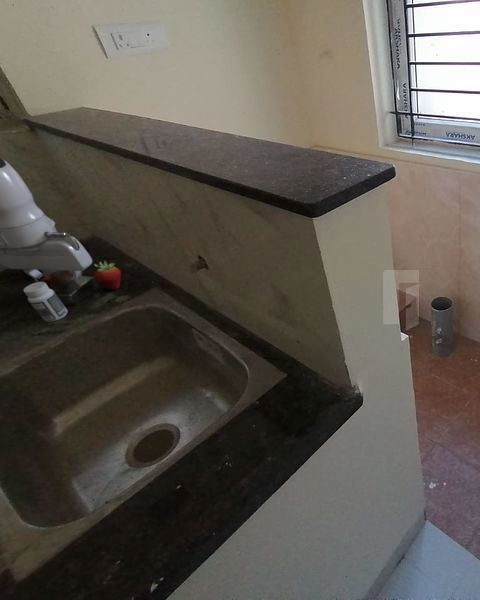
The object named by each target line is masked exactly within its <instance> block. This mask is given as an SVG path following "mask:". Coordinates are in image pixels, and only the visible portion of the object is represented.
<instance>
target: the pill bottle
mask: <svg viewBox="0 0 480 600" xmlns="http://www.w3.org/2000/svg"><path fill="white" fill-rule="evenodd" d="M23 293H24V294H25V295H26V296H27V301H28V303H30V305H31V306H32V307H33V309H34V310H35V311H36V312H37V314H38V315H39V316H40V317H41V318H42V320H43V321H44V322H45V323H46V322H47V323H52V322H56V321H59V320H61V319H63V318H65V317H66V316H67V314H68V312H69V311H68V309H67V308H66V305H63V303H62V302H61V301H60V299H59V298H58V297H57V295H56V294H55V292H54V291H53V290H52V289H49V287H48V286H47V285H46V283H44V282H33V283H30V284H29V285H26V286H25V287H24V288H23Z"/></svg>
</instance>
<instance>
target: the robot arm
mask: <svg viewBox="0 0 480 600" xmlns="http://www.w3.org/2000/svg"><path fill="white" fill-rule="evenodd" d="M46 216H47V215H46V214H45V213H44V212H43V210H42V209H41V208H39V207H38V205H37V204H36V203H35V200H34V197H33V194H32V192H31V190H30V189H29V187H28V185H27V184H26V183H25V181H24V179H23V177H22V176H21V175H20V173H18V172H17V170H15V168H14V167H12V165H11V164H10V163H9V162H7V161H6V160H5V159H4V158H1V157H0V264H1V265H2V266H3V267H5V268H7V269H8V270H22V271H23V272H24V273H25V274H26V275H28V276H30V277H31V278H32V279H34V280H35V283H37V282H43V278H45V277H46V275H45V274H44V273H43V272H42V271H41V270H66V271H69V272H70V273H71V274H73V278H71V281H72V282H73V284H78V285H81V284H82V283H83V282H84V279H83V277H84V276H83V271H85V270H86V269H88V268H89V267H90V266H91V265H92V264H93V259H92V257H91V255H90V253H89V252H88V251H87V250H86V248H85V247H84V246H83V245H82V243H81V242H80V241H79V240H78V239H77V238H76V237H74V236H72V235H70V234H68V233H67V232H63V231H61V232H58V231H57V232H55V231H54V229H53V227H52V226H51V224H50V222H49V221H48V219H47V218H46Z"/></svg>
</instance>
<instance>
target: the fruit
mask: <svg viewBox="0 0 480 600" xmlns="http://www.w3.org/2000/svg"><path fill="white" fill-rule="evenodd" d="M93 265H94V266H95V267H97V268H98V269H97V270H95V271H94V273H93V275H94V276H93V277H94V278H95V280H96V281H97V283H98V284H101V285H102V286H104V287H105V288H107V289H109V290H112V291H113V290H115V291H116V290H118V289H119V288H120V286H121V276H122V273H121V270H120V269H119V268H118V267H117V266H115V265H116V263H115V262H110V263H109V264H108V262H107V260H105V259H104V260H103V263H102V262H101V261H99V265H98V264H97V263H94V264H93Z"/></svg>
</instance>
